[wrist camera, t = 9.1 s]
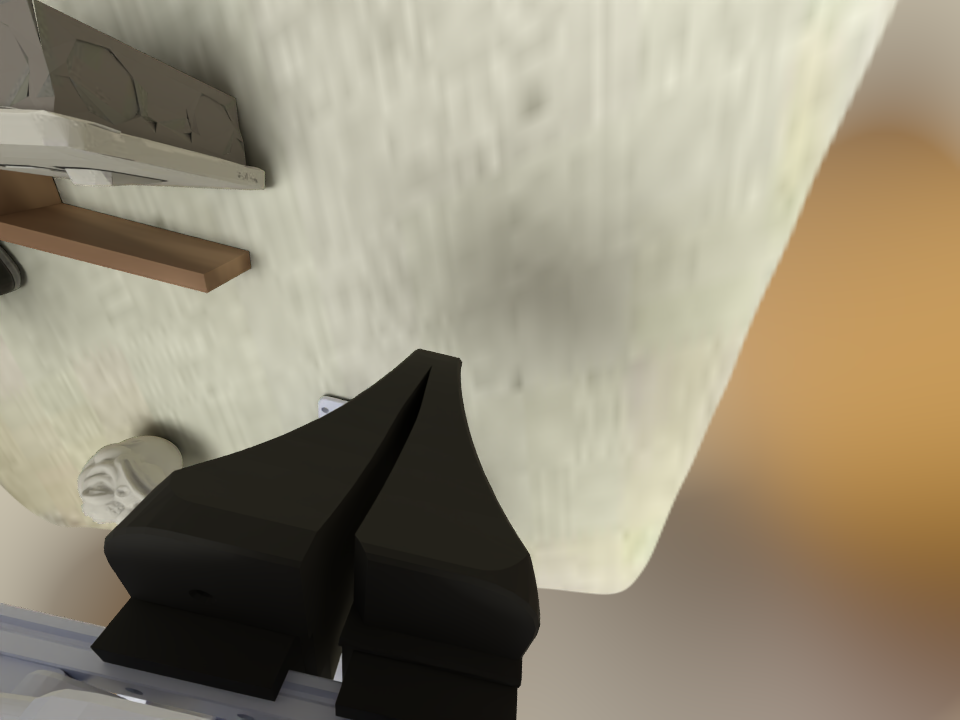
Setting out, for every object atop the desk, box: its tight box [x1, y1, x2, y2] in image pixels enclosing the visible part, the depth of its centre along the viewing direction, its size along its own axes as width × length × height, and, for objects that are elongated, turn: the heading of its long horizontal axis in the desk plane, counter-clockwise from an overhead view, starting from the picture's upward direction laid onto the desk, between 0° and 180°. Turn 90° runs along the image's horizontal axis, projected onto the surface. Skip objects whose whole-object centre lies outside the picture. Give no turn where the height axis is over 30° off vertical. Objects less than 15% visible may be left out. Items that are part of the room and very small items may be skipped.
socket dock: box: [0, 169, 251, 293], centre depth 16 cm, size 14×12×6 cm
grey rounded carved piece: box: [78, 436, 183, 525], centre depth 29 cm, size 6×7×7 cm
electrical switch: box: [0, 0, 265, 190], centre depth 15 cm, size 9×5×9 cm, turn 89°
